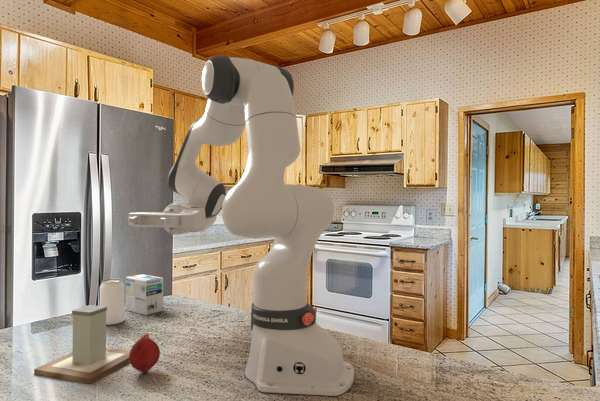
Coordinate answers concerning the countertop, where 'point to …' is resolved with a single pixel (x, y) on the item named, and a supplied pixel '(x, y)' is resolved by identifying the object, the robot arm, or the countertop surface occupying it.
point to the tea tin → (89, 334)
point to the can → (113, 300)
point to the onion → (144, 354)
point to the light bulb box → (144, 294)
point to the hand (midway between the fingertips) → (146, 221)
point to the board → (84, 367)
